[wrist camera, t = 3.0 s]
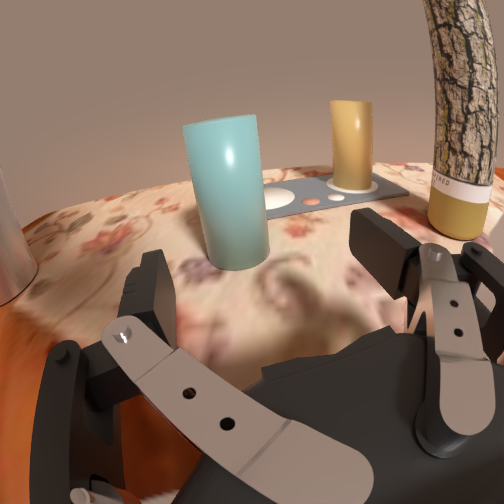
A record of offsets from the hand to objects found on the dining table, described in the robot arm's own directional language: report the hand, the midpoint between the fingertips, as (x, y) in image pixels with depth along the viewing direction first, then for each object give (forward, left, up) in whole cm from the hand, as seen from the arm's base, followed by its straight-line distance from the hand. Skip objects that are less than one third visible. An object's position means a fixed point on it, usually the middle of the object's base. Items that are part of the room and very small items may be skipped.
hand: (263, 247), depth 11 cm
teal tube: (0, +11, -7) cm, 12 cm away
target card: (+11, +21, -7) cm, 24 cm away
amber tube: (+17, +21, -7) cm, 27 cm away
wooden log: (+22, +7, -7) cm, 24 cm away
